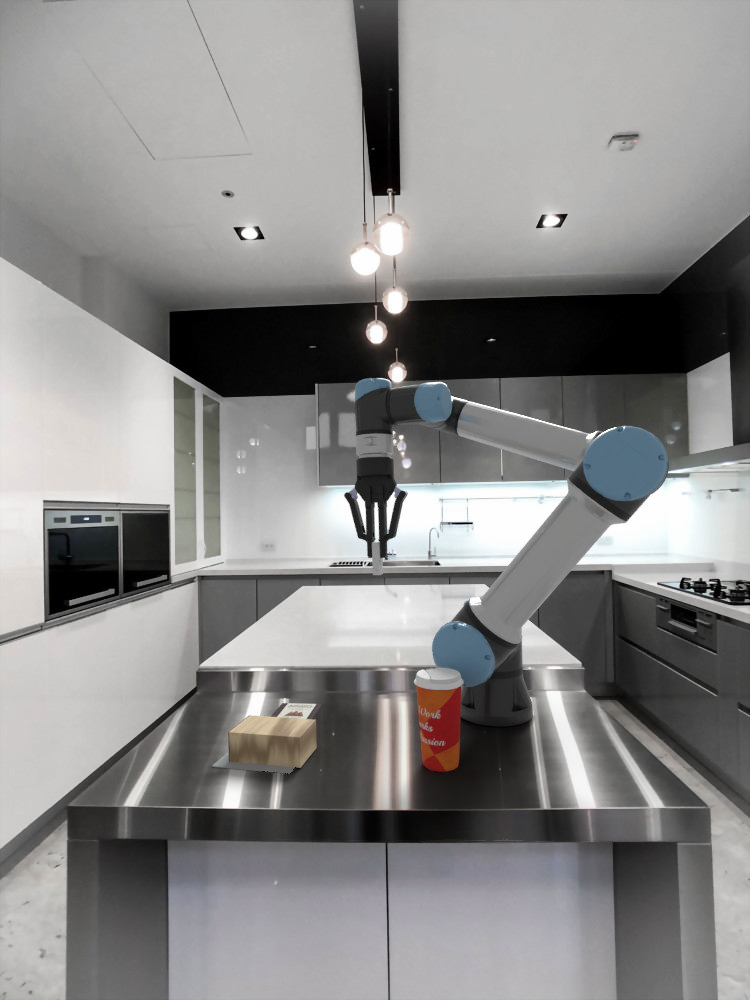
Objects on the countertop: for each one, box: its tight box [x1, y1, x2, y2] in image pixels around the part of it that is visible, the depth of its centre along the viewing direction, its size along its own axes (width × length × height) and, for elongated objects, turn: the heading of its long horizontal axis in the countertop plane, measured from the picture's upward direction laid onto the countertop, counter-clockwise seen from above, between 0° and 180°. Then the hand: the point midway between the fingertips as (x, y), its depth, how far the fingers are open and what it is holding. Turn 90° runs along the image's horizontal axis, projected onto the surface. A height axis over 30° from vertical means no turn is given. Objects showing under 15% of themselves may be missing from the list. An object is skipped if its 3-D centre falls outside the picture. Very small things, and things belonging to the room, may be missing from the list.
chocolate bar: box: [270, 702, 323, 720], centre depth 117 cm, size 9×1×18 cm
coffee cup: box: [413, 667, 464, 773], centre depth 96 cm, size 8×8×15 cm
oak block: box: [227, 714, 318, 769], centre depth 100 cm, size 5×8×13 cm
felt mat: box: [211, 750, 296, 775], centre depth 101 cm, size 14×12×1 cm
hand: (377, 574), depth 116 cm, fingers closed
